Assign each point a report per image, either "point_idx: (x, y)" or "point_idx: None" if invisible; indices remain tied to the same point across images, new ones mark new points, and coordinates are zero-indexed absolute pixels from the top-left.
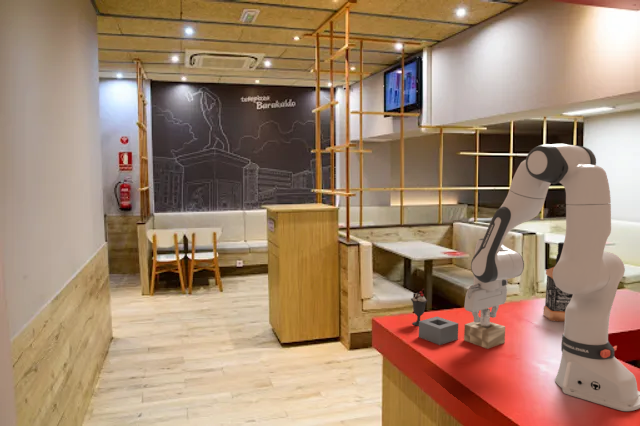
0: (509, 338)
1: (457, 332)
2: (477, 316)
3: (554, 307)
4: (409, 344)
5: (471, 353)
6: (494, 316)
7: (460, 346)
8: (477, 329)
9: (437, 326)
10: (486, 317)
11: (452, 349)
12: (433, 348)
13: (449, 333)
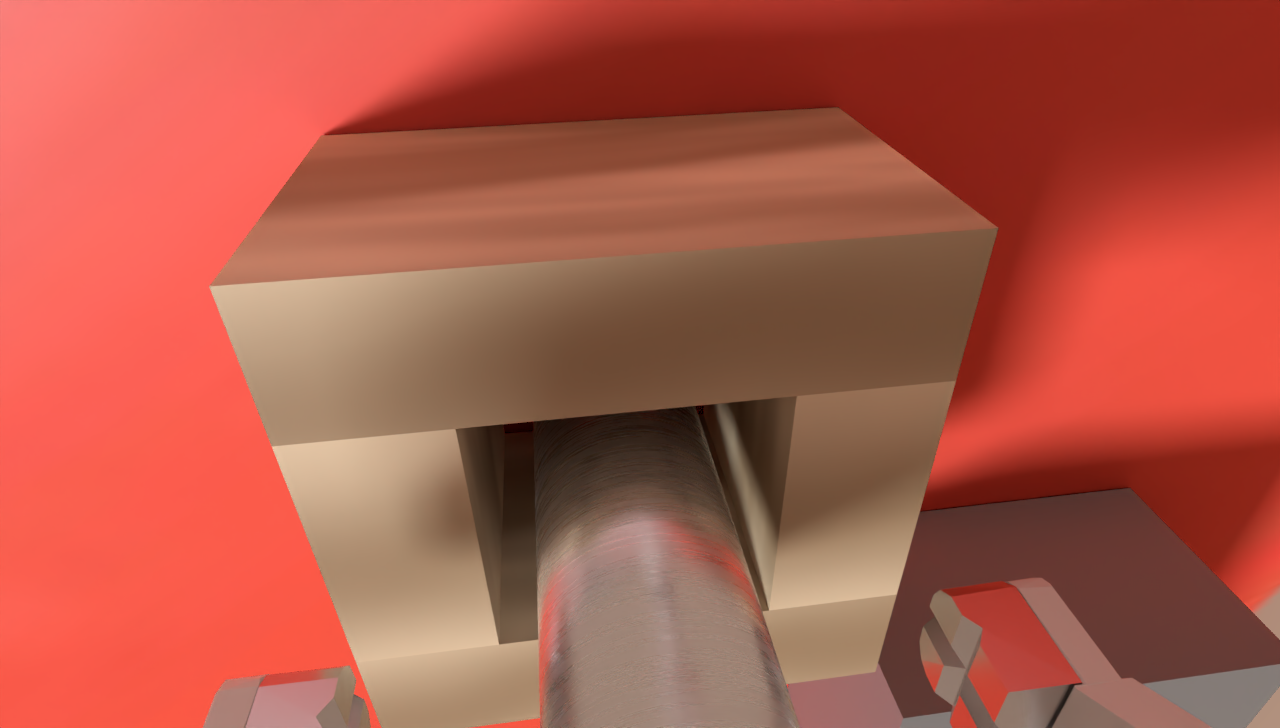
0: (49, 229)
1: None
2: (1203, 722)
3: None
4: (1267, 598)
5: (1189, 124)
6: (300, 690)
7: (1018, 368)
8: (919, 464)
9: (1218, 718)
10: (758, 668)
11: (1179, 348)
12: (1260, 456)
13: None
